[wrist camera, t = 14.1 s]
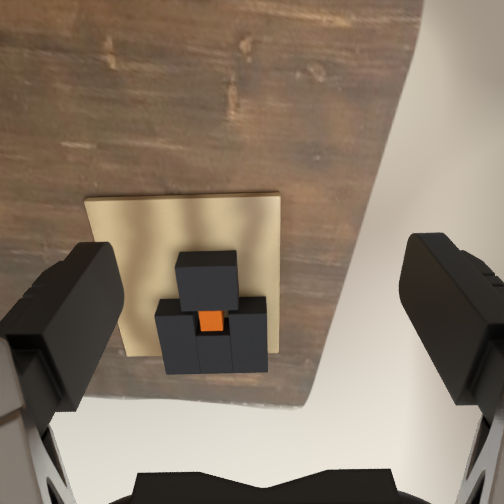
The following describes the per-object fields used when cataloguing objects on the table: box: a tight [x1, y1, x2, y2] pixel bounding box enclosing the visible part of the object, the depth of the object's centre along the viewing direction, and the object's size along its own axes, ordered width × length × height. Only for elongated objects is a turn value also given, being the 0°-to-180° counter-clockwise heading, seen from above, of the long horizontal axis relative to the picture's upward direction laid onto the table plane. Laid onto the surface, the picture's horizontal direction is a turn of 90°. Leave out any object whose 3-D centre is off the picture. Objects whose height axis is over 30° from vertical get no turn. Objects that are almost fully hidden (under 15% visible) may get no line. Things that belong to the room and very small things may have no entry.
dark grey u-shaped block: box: [154, 296, 268, 375], centre depth 43 cm, size 12×9×3 cm
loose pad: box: [174, 250, 239, 331], centre depth 40 cm, size 6×8×3 cm
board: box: [84, 192, 281, 356], centre depth 42 cm, size 19×21×1 cm
